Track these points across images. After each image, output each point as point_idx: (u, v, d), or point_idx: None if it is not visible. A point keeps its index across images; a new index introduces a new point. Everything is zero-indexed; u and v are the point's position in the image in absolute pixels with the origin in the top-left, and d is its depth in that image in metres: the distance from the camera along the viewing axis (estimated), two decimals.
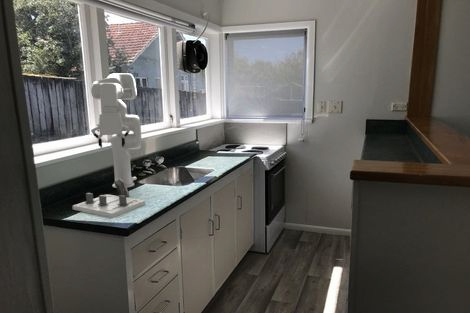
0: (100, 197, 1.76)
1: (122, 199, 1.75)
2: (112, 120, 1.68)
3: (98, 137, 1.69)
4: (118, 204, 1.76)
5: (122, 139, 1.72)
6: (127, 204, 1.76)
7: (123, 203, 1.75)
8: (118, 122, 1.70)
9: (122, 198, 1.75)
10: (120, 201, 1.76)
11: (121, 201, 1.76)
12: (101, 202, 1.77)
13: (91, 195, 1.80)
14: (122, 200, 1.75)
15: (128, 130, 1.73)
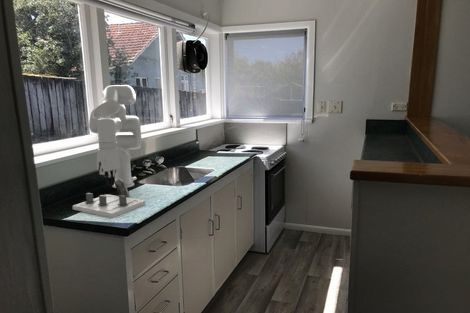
0: (100, 197, 1.76)
1: (122, 199, 1.75)
2: (114, 155, 1.66)
3: (109, 176, 1.66)
4: (118, 204, 1.76)
5: (113, 178, 1.67)
6: (127, 204, 1.76)
7: (123, 203, 1.75)
8: (118, 157, 1.68)
9: (122, 198, 1.75)
10: (120, 201, 1.76)
11: (121, 201, 1.76)
12: (101, 202, 1.77)
13: (91, 195, 1.80)
14: (122, 200, 1.75)
15: (117, 170, 1.71)
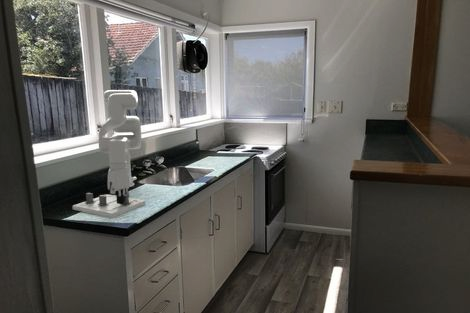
0: (100, 197, 1.76)
1: (124, 198, 1.77)
2: (124, 175, 1.72)
3: (119, 195, 1.73)
4: None
5: (123, 196, 1.74)
6: (129, 203, 1.78)
7: (125, 202, 1.77)
8: (127, 176, 1.75)
9: (124, 197, 1.77)
10: None
11: None
12: (101, 202, 1.77)
13: (91, 195, 1.80)
14: (124, 199, 1.77)
15: (127, 188, 1.77)
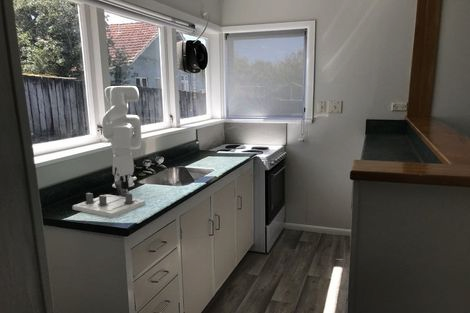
0: (100, 197, 1.76)
1: (128, 197, 1.79)
2: (128, 161, 1.75)
3: (124, 180, 1.75)
4: (124, 202, 1.80)
5: (127, 182, 1.77)
6: (133, 202, 1.80)
7: (129, 201, 1.79)
8: (132, 162, 1.77)
9: (128, 196, 1.79)
10: (126, 199, 1.80)
11: (127, 199, 1.79)
12: (101, 202, 1.77)
13: (91, 195, 1.80)
14: (128, 198, 1.79)
15: (131, 174, 1.80)
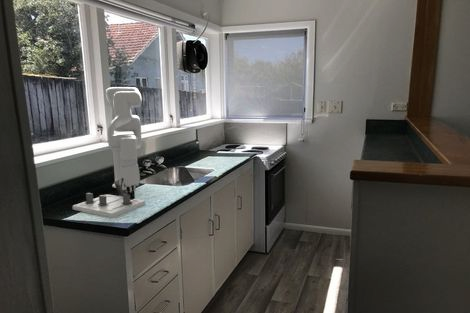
0: (100, 197, 1.76)
1: (126, 198, 1.77)
2: (134, 172, 1.79)
3: None
4: (122, 203, 1.78)
5: (134, 192, 1.80)
6: None
7: (127, 202, 1.78)
8: (138, 172, 1.81)
9: (126, 197, 1.77)
10: (124, 199, 1.78)
11: (125, 200, 1.78)
12: (101, 202, 1.77)
13: (91, 195, 1.80)
14: (126, 199, 1.78)
15: (137, 184, 1.84)
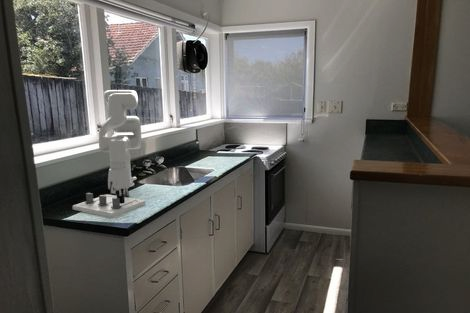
0: (100, 197, 1.76)
1: (115, 201, 1.71)
2: (124, 175, 1.73)
3: (119, 194, 1.73)
4: (111, 207, 1.72)
5: (123, 196, 1.74)
6: (120, 207, 1.73)
7: (116, 206, 1.72)
8: (128, 175, 1.75)
9: (115, 200, 1.71)
10: (113, 203, 1.72)
11: (114, 203, 1.72)
12: (101, 202, 1.77)
13: (91, 195, 1.80)
14: (115, 202, 1.72)
15: (127, 187, 1.78)
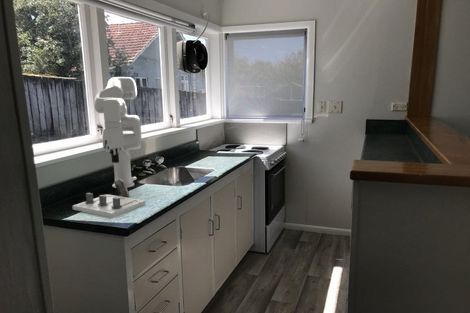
0: (100, 197, 1.76)
1: (116, 201, 1.72)
2: (118, 134, 1.76)
3: (114, 153, 1.77)
4: (112, 206, 1.72)
5: (118, 155, 1.79)
6: (121, 206, 1.73)
7: (117, 205, 1.72)
8: (122, 135, 1.79)
9: (116, 200, 1.72)
10: (114, 203, 1.72)
11: (115, 203, 1.72)
12: (101, 202, 1.77)
13: (91, 195, 1.80)
14: (116, 202, 1.72)
15: (121, 148, 1.82)
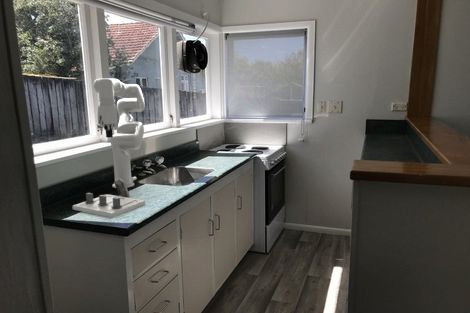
0: (100, 197, 1.76)
1: (116, 201, 1.72)
2: (112, 111, 1.93)
3: (108, 128, 1.93)
4: (112, 206, 1.72)
5: (111, 130, 1.95)
6: (121, 206, 1.73)
7: (117, 205, 1.72)
8: (115, 113, 1.96)
9: (116, 200, 1.72)
10: (114, 203, 1.72)
11: (115, 203, 1.72)
12: (101, 202, 1.77)
13: (91, 195, 1.80)
14: (116, 202, 1.72)
15: (115, 124, 1.98)
